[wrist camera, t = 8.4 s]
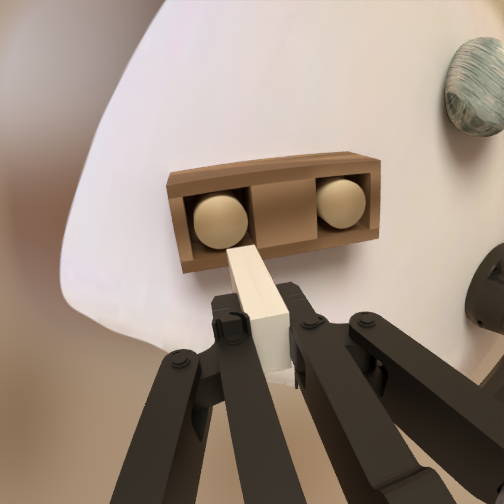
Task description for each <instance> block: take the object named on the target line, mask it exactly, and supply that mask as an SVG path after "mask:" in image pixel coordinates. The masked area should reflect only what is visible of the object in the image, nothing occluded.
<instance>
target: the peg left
mask: <svg viewBox="0 0 504 504" xmlns="http://www.w3.org/2000/svg"><path fill="white" fill-rule="evenodd" d="M193 218H194V228H195V232H196V235H197V236H198V238H199V239H200V241H201V242H202V243H204V244H205V245H207V246H209V247H211V248H216V249H225V248H229V247H231V246H233V245H235V244H237V243H238V242H239V241H240V240H241V239H242V238H243V236H244V235H245V233H246V230H247V226H248V219H247V214H246V212H245V210H244V208H243V207H242V205H241V204H240V202H239V201H238V199H237V198H236V196H235V195H234V193H233V192H232V191H231V190H230V189H227V190H221V191H214V192H208V193H202V194H197V195H196V196H195V198H194V201H193Z"/></svg>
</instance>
